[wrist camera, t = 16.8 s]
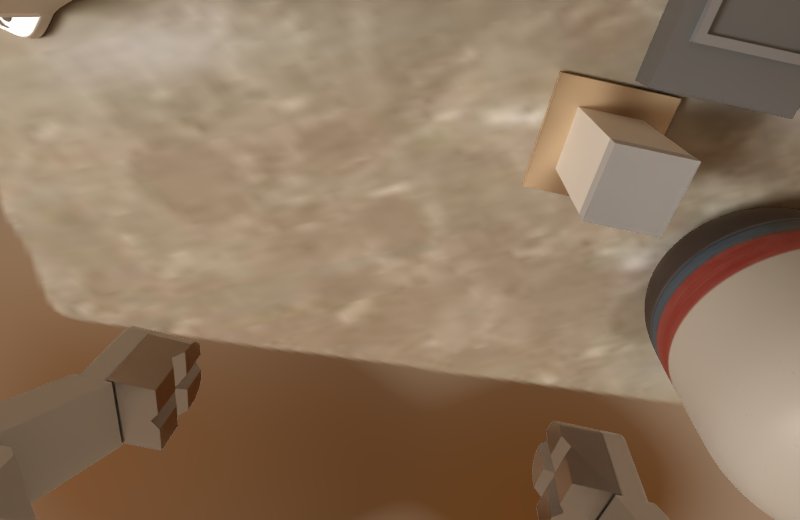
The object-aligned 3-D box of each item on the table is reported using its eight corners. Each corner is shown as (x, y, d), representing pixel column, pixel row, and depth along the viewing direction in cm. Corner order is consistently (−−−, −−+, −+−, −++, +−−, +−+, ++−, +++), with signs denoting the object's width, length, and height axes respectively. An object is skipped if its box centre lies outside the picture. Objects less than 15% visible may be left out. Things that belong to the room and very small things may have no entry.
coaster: (522, 183, 40) (522, 185, 40) (560, 71, 35) (561, 72, 35) (626, 206, 40) (629, 209, 39) (678, 97, 35) (681, 99, 35)
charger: (555, 168, 39) (582, 220, 30) (578, 106, 36) (614, 143, 27) (616, 182, 38) (661, 237, 30) (643, 120, 36) (701, 161, 27)
